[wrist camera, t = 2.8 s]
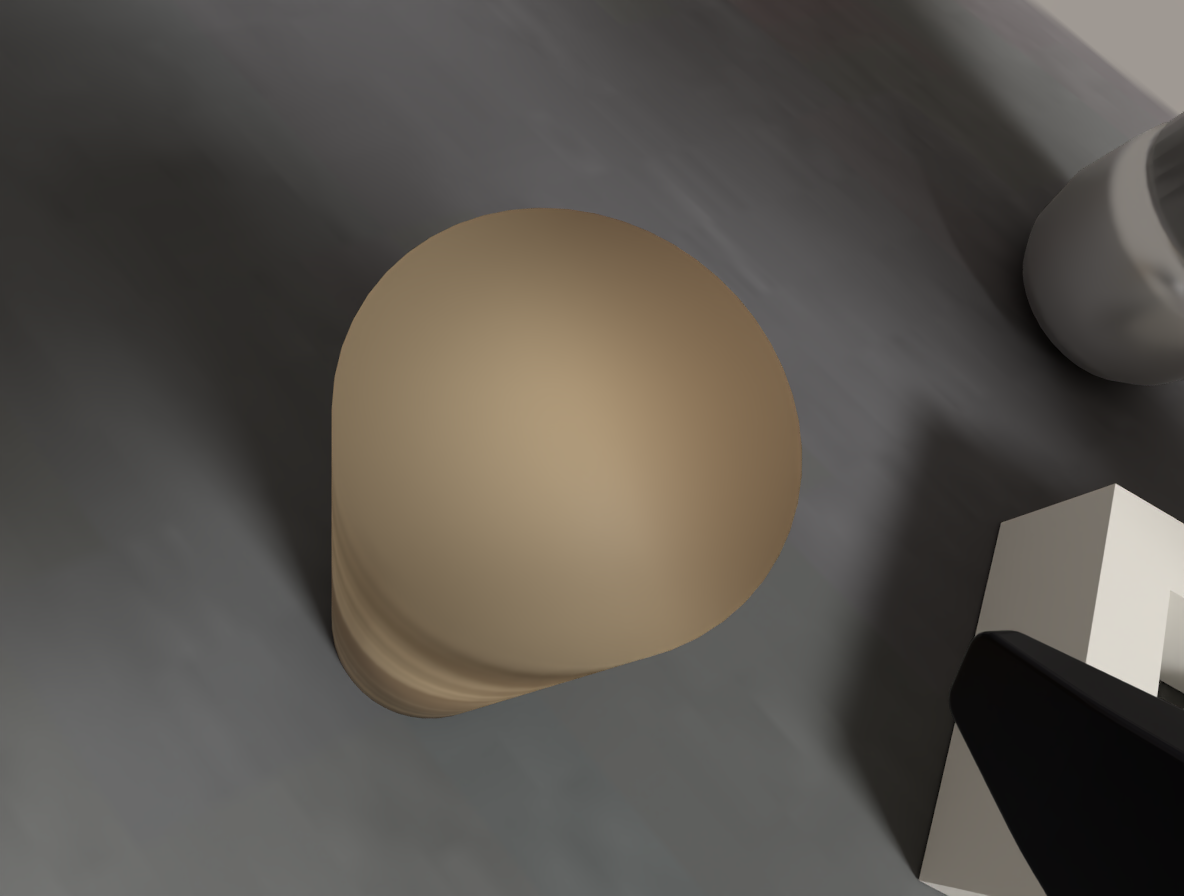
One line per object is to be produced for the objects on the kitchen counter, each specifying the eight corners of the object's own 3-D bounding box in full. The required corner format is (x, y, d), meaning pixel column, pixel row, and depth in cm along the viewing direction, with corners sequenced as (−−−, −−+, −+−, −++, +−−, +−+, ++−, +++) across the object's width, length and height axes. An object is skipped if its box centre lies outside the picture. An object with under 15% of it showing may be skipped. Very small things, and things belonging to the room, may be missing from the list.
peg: (362, 749, 16) (416, 745, 6) (308, 548, 17) (274, 242, 7) (557, 678, 17) (871, 576, 7) (498, 497, 18) (704, 184, 8)
